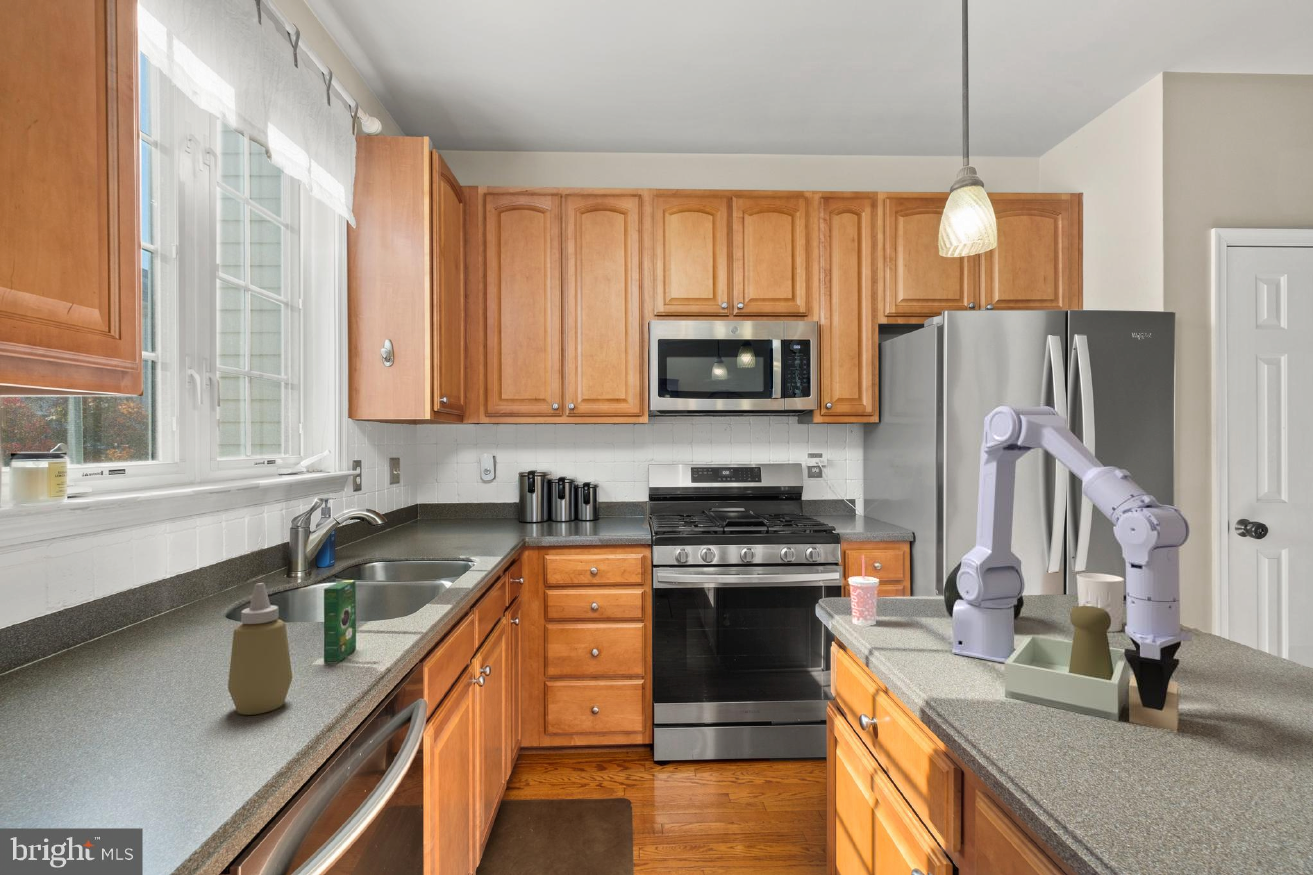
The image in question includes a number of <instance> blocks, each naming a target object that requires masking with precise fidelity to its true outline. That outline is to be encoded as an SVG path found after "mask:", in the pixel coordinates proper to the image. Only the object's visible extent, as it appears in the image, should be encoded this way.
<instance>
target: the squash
mask: <svg viewBox="0 0 1313 875" xmlns="http://www.w3.org/2000/svg"><path fill="white" fill-rule="evenodd" d="M961 562H962V560H961V561H960V562H959V563H958V564H957V565H956V566H955V567H954V568H953V570H952V571H951V572H950V573H949V574H948V576H947V578H946V581H945V583H944V587H943V597H944V598H943V602H944V606H945V610H946V612H947V614H948V615H949V616H950V617H951V618H952V619H953V609H954V605H955V602H956V601H957V600H964V599H963V598H962V596H961V595H960V593H959V591H958V588H957V575H958V572H959V570H960V568H961ZM1023 596H1024V595H1023V594H1022V595H1021V597H1019V598H1018V599H1017V604H1016V605H1013V606H1014V621H1015V620H1016V619H1018V618H1019V616H1020V615H1021V612H1022V609H1023V607H1024V605H1025V603H1024V602H1025V601H1024V597H1023Z"/></svg>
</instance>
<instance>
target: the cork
mask: <svg viewBox="0 0 1313 875" xmlns="http://www.w3.org/2000/svg"><path fill="white" fill-rule="evenodd" d="M1069 618H1070V622H1071V625H1072V626H1073V627H1074V630H1073V637H1072V641H1073V644H1072V651H1071V658H1070V666H1069V673H1072V674H1077V675H1083V676H1088V677H1094V678H1099V679H1105V680H1110V681H1111V679H1112V676H1113V674H1114V671H1113V665H1112V659H1111V653H1110V648H1109V647H1110V644H1109V637H1108V636H1109V635H1108V632H1107V630H1108V629H1109V628H1110V625H1111V618H1110V615H1109V614H1108V612H1107V611H1105V610H1104V609H1101V608H1098V607H1093V606H1079V605H1078V606H1075V607H1073V608H1072V609H1071V611H1070V615H1069Z"/></svg>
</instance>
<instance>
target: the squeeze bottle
mask: <svg viewBox="0 0 1313 875" xmlns="http://www.w3.org/2000/svg"><path fill="white" fill-rule="evenodd" d="M240 617H241V618H240V620H241V624H240V625H238V626H237V627H236V628H234V629H233V636H232V645H231V653H230V663H229V672H228V683H227V690H228V692H229V695H230V697H231V700H232V703H233V705H234V707H235V709H236V712H237V713H238V714H240V713H241V714H240V715H259V714H264V713H268V712H272V711H274V710H277V709H279V708H280V707H282V706H283V705H284V704H285V702H286V698H287V695H288V693H289V689H290V686H291V683H292V680H293V673H292V672H293V671H292V663H291V656H290V648H289V638H288V631H287V625H286V623H285V622H284V621H283V620H282V619H278V618H279V606H278V605H274V604H273V605H272V604H271V603H270V600H269V596H268V591H267V587H266V585H265V583H264V582H259V583H255V584H254V587H253V592H252V597H251V601H250V605H249V607H248V608H244V609H243V610H241V612H240Z"/></svg>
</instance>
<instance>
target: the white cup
mask: <svg viewBox="0 0 1313 875" xmlns="http://www.w3.org/2000/svg"><path fill="white" fill-rule="evenodd" d="M1076 586H1077V587H1076V588H1077V599H1078V600H1077V601H1078V606H1093V607H1098V608H1101V609H1104V610H1105V611H1107V612H1108V614H1109V615H1110V618H1111V625H1110V628H1109V629H1108V630H1107V633H1116V632H1120V631H1121V630H1122V627H1123V625H1122V623H1123V618H1122V617H1123V613H1124V597H1125V596H1124V595H1125V594H1124V593H1125V579H1124V578H1123V577H1121V576H1118V575H1114V574H1113V575H1112V574H1106V573H1096V572H1095V573H1093V572H1087V573H1086V572H1085V573H1084V572H1083V573H1078V574H1076Z"/></svg>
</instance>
